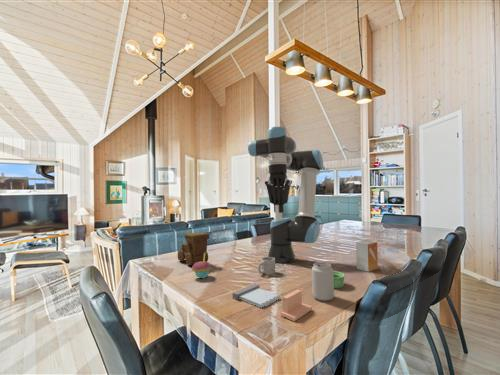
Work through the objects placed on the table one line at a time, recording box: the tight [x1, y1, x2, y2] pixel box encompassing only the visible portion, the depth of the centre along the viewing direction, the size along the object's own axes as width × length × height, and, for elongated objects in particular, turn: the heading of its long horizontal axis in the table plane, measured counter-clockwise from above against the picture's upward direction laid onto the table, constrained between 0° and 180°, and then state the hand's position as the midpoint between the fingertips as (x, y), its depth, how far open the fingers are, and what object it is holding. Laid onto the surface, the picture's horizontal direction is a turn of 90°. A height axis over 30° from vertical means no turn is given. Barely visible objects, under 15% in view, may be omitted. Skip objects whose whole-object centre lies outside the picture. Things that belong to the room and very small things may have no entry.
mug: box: [257, 256, 276, 276], centre depth 119 cm, size 10×7×7 cm, turn 135°
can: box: [311, 261, 335, 302], centre depth 91 cm, size 8×8×12 cm
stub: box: [280, 289, 313, 322], centre depth 80 cm, size 5×10×6 cm, turn 136°
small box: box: [355, 240, 379, 273], centre depth 122 cm, size 8×6×13 cm
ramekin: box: [333, 270, 346, 289], centre depth 103 cm, size 9×9×4 cm
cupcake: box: [191, 253, 212, 279], centre depth 116 cm, size 9×8×12 cm
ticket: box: [232, 283, 281, 309], centre depth 92 cm, size 13×12×2 cm
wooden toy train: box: [177, 231, 210, 266], centre depth 140 cm, size 20×11×17 cm, turn 40°
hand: (278, 220), depth 106 cm, fingers closed
